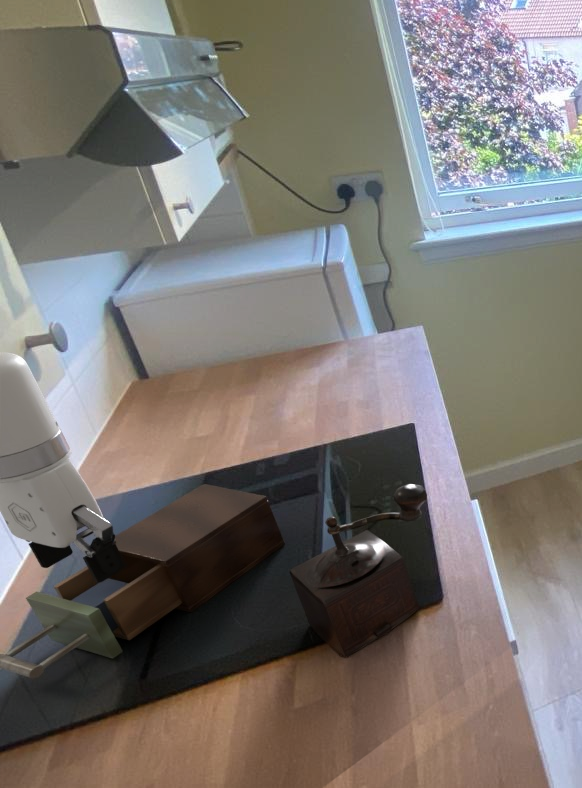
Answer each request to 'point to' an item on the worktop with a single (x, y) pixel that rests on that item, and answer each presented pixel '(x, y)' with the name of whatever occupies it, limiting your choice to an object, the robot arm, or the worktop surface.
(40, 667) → the drawer
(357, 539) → the manual coffee grinder
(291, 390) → the worktop surface
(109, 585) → the block
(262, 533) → the cabinet
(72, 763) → the worktop surface
